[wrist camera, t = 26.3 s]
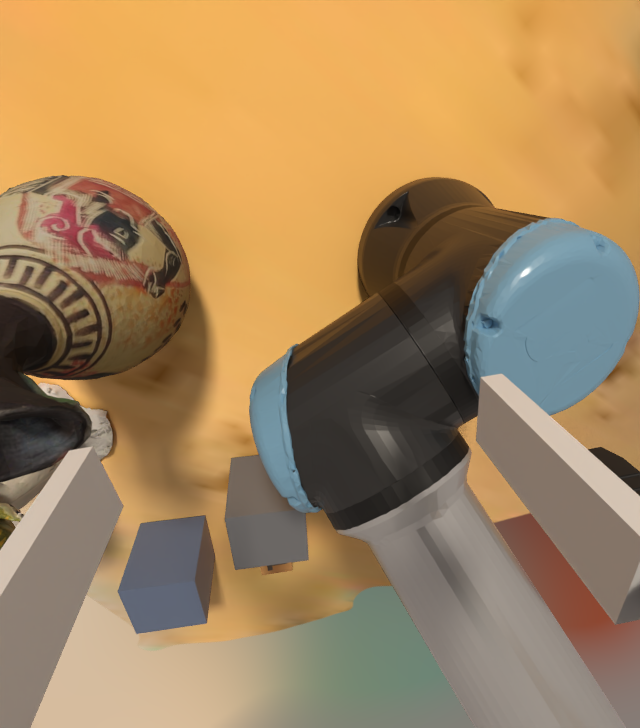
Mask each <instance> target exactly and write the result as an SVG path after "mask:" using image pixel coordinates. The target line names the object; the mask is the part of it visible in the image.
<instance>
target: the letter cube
mask: <svg viewBox="0 0 640 728" xmlns="http://www.w3.org/2000/svg"><path fill="white" fill-rule="evenodd" d="M291 570H293V569H292V562H290V563H283V564H275V565H268V566H261V572H262V575H266V574H272V573H278V572H285V571H291Z"/></svg>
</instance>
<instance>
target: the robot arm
mask: <svg viewBox="0 0 640 728" xmlns="http://www.w3.org/2000/svg"><path fill="white" fill-rule="evenodd" d="M358 269H359V274H360V278H361V281H362V284H363V286H364V288H365V290H366V292H367V294H368V295H369V297H370V298H368V299H367V300H365V301H364V302H362V303H361V304H359V305H358V306H356V307H355V308H353V309H352V310H350V311H349V312H347V313H346V314H344V315H343V316H341V317H340V318H338V319H337V320H335V321H334V322H332V323H331V324H329V325H328V326H326V327H325V328H323V329H322V330H320V331H319V332H317V333H316V334H314V335H313V336H311V337H310V338H308V339H307V340H305V341H304V342H302V343H301V344H295V345H293V346H292V347H290V348H289V349H288V351H287V353H286V354H285V355H284V356H282V357H281V358H280V359H278V360H277V361H276V362H274V363H273V364H272V365H270V366H269V367H268V368H266V369H265V370H264V371H262V372H261V373H260V374H259V376H258V377H257V378H256V380H255V382H254V384H253V386H252V389H251V394H250V406H249V415H250V423H251V428H252V433H253V437H254V441H255V444H256V447H257V450H258V453H259V456H260V458H261V461H262V463H263V465H264V467H265V470H266V472H267V474H268V476H269V478H270V479H271V481H272V483H273V485H274V486H275V488H276V489H277V490H278V492H279V493H280V494H281V496H282V497H285V498H286V497H287V499H288V502H289V505H290V506H292V507H293V508H294V509H296V510H297V511H300V512H303V513H310V512H313V513H314V512H318V511H320V510H322V509H323V510H324V511H325V513H326V514H327V516H328V518H329V520H330V521H331V523H332V525H333V527H334V528H335V530H336V531H337V533H338V534H341V535H345V536H349V537H353V538H357V539H360V540H363V541H364V542H366V543H368V545H369V547H370V549H371V550H372V552H373V554H374V555H375V557H376V559H377V561H378V562H379V564H380V566H381V567H382V569H383V571H384V573H385V574H386V576H387V578H388V579H389V581H390V583H391V585H392V586H393V588H394V590H395V591H396V593H397V595H398V596H399V598H400V600H401V602H402V603H403V605H404V607H405V608H406V610H407V612H408V614H409V615H410V617H411V618H412V621H413V622H414V624H415V626H416V627H417V629H418V631H419V633H420V634H421V636H422V638H423V639H424V641H425V643H426V645H427V646H428V648H429V649H430V651H431V653H432V655H433V657H434V658H435V660H436V662H437V663H438V665H439V667H440V668H441V670H442V672H443V674H444V675H445V677H446V679H447V680H448V682H449V684H450V686H451V687H452V689H453V691H454V692H455V694H456V696H457V698H458V699H459V701H460V703H461V704H462V706H463V708H464V710H465V711H466V713H467V715H468V716H469V718H470V720H471V721H472V723H473V725H474V727H475V728H626V726H625V725H624V724H623V722H622V720H621V719H620V717H619V716H618V714H617V713H616V711H615V710H614V708H613V706H612V705H611V703H610V702H609V700H608V699H607V697H606V696H605V694H604V693H603V691H602V690H601V688H600V687H599V685H598V683H597V682H596V680H595V679H594V677H593V676H592V674H591V673H590V671H589V670H588V668H587V667H586V665H585V663H584V662H583V660H582V659H581V657H580V656H579V654H578V653H577V651H576V650H575V648H574V647H573V645H572V643H571V642H570V640H569V639H568V637H567V636H566V634H565V633H564V631H563V630H562V628H561V626H560V625H559V624H558V622H557V620H556V619H555V617H554V616H553V615H552V613H551V611H550V610H549V608H548V607H547V605H546V604H545V602H544V600H543V599H542V597H541V596H540V594H539V593H538V591H537V590H536V588H535V587H534V585H533V583H532V582H531V580H530V579H529V577H528V576H527V574H526V573H525V571H524V570H523V568H522V567H521V565H520V564H519V562H518V560H517V559H516V558H515V556H514V554H513V553H512V551H511V550H510V548H509V547H508V545H507V543H506V542H505V540H504V539H503V537H502V536H501V534H500V533H499V531H498V530H497V528H496V527H495V525H494V523H493V522H492V520H491V519H490V517H489V516H488V514H487V513H486V511H485V510H484V508H483V507H482V505H481V503H480V502H479V500H478V499H477V497H476V496H475V494H474V493H473V491H472V490H471V488H470V487H469V485H468V483H467V472H468V467H469V463H470V458H471V453H472V452H471V449H470V448H469V446H468V445H467V443H466V442H465V440H464V439H463V437H462V436H461V434H460V433H459V431H458V427H460V426H461V425H463V424H464V423H466V422H468V421H469V420H471V419H473V418H475V417H476V416H478V419H477V434H476V441H477V443H478V444H479V445H480V446H481V448H482V449H483V450H484V452H485V453H486V454H487V456H488V457H489V458H490V460H491V461H492V462H493V464H494V465H495V466H496V468H497V469H498V470H499V472H500V473H501V474H502V476H503V477H504V478H505V480H506V481H507V482H508V483H509V485H510V486H511V487H512V489H513V490H514V491H515V493H516V494H517V495H518V497H519V498H520V499H521V501H522V502H523V503H524V505H525V506H526V507H527V509H528V510H529V511H530V513H531V514H532V515H533V516H534V518H535V519H536V520H537V522H538V523H539V524H540V526H541V527H542V528H543V530H544V531H545V532H546V534H547V535H548V536H549V538H550V539H551V540H552V542H553V543H554V544H555V546H556V547H557V548H558V549H559V551H560V552H561V554H562V555H563V556H564V557H565V559H566V560H567V561H568V563H569V564H570V565H571V567H572V568H573V569H574V571H575V572H576V573H577V575H578V576H579V577H580V579H581V580H582V581H583V583H584V584H585V585H586V587H587V588H588V589H589V590H590V592H591V593H592V594H593V596H594V597H595V598H596V600H597V601H598V602H599V604H600V605H601V606H602V608H603V609H604V610H605V612H606V613H607V614H608V616H609V617H610V618H611V619H612V621H613V622H614V624H615V625H616V624H621V623H625V622H630V621H634V620H639V619H640V472H639V471H638V470H637V469H636V468H635V467H633V466H632V465H631V464H630V463H628V462H627V461H626V460H625V459H624V458H622V457H620V456H618V455H616V454H614V453H612V452H610V451H608V450H606V449H604V448H602V447H599V448H593V449H588V450H587V449H586V448H585V447H584V446H583V445H582V444H581V443H580V442H578V441H577V440H576V439H575V438H574V437H573V436H572V435H571V434H569V433H568V432H567V431H566V430H565V429H564V428H563V427H562V426H560V425H559V424H558V423H557V422H556V421H555V420H554V419H553V418H551V417H550V415H553V414H556V413H558V412H561V411H563V410H566V409H568V408H569V407H571V406H573V405H575V404H576V403H578V402H579V401H581V400H582V399H584V398H585V397H586V396H588V395H589V394H590V393H591V392H593V391H594V390H595V389H596V388H597V387H598V386H599V385H600V384H601V383H602V382H603V381H604V380H605V379H606V377H607V376H608V375H609V374H610V373H611V372H612V370H613V369H614V368H615V366H616V364H617V363H618V361H619V360H620V358H621V357H622V355H623V353H624V350H625V346H626V344H627V342H628V340H629V338H630V337H631V335H632V333H633V331H634V328H635V324H636V320H637V316H638V310H639V285H638V280H637V276H636V272H635V270H634V267H633V265H632V263H631V261H630V259H629V258H628V256H627V255H626V253H625V252H624V251H623V250H622V249H621V248H620V247H619V246H618V245H617V244H616V243H615V242H613V241H612V240H610V239H609V238H607V237H605V236H603V235H601V234H599V233H596V232H593V231H590V230H587V229H584V228H581V227H579V226H578V225H576V224H575V223H573V222H571V221H565V220H563V219H559V218H547V217H542V216H536V215H530V214H525V213H519V212H513V211H508V210H502V209H496V208H495V207H494V206H493V204H492V203H491V201H490V200H489V199H488V198H487V197H486V195H484V194H483V193H482V192H481V191H480V190H478V189H477V188H475V187H474V186H472V185H470V184H468V183H466V182H463V181H460V180H456V179H449V178H439V177H432V178H424V179H419V180H416V181H413V182H410V183H408V184H406V185H404V186H402V187H400V188H398V189H397V190H395V191H394V192H392V193H391V194H390V195H389V196H387V197H386V198H385V199H384V200H383V201H382V202H381V203H380V204H379V206H378V207H377V208H376V209H375V211H374V212H373V213H372V215H371V216H370V218H369V220H368V222H367V224H366V226H365V228H364V230H363V233H362V236H361V240H360V244H359V250H358ZM122 508H123V504H122V502H121V500H120V498H119V496H118V494H117V492H116V490H115V489H114V487H113V485H112V483H111V481H110V479H109V477H108V475H107V473H106V471H105V469H104V467H103V465H102V463H101V461H100V459H99V457H98V455H97V453H96V452H95V450H94V448H93V446H92V447H87V448H81V449H75V450H70V451H68V453H67V454H66V456H65V457H64V459H63V460H62V462H61V463H60V464H59V466H58V467H57V469H56V470H55V472H54V473H53V475H52V476H51V477H50V479H49V480H48V482H47V483H46V485H45V486H44V488H43V489H42V490H41V492H40V493H39V495H38V496H37V498H36V499H35V501H34V502H33V504H32V505H31V506H30V508H29V509H28V511H27V512H26V514H25V515H24V517H23V518H22V519H21V521H20V522H19V524H18V525H17V527H16V528H15V530H14V531H13V532H12V534H11V535H10V537H9V538H8V540H7V541H6V543H5V544H4V545H3V547H2V548H1V550H0V728H30V727H31V725H32V722H33V720H34V718H35V715H36V713H37V711H38V708H39V706H40V703H41V701H42V699H43V696H44V694H45V692H46V689H47V687H48V684H49V682H50V679H51V677H52V675H53V672H54V670H55V668H56V665H57V663H58V661H59V658H60V655H61V653H62V651H63V649H64V646H65V644H66V642H67V639H68V637H69V634H70V632H71V630H72V627H73V625H74V623H75V620H76V618H77V615H78V613H79V610H80V608H81V606H82V604H83V601H84V599H85V596H86V594H87V592H88V589H89V587H90V585H91V582H92V580H93V577H94V575H95V573H96V570H97V568H98V565H99V563H100V561H101V558H102V556H103V554H104V551H105V549H106V546H107V544H108V542H109V539H110V537H111V535H112V532H113V530H114V527H115V525H116V523H117V520H118V518H119V516H120V513H121V511H122Z"/></svg>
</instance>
